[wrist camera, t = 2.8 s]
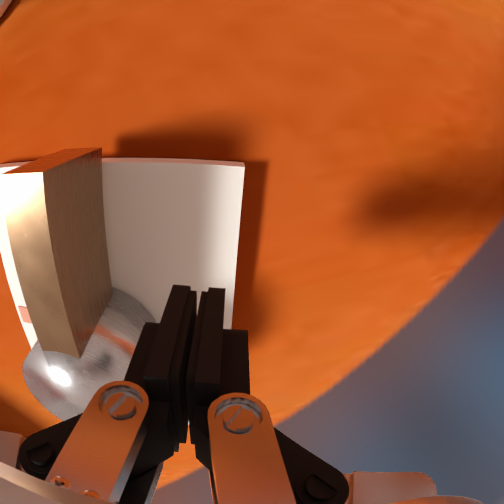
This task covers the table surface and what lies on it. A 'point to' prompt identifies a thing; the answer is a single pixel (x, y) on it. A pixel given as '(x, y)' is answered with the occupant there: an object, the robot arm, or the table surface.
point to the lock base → (160, 230)
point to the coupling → (68, 280)
